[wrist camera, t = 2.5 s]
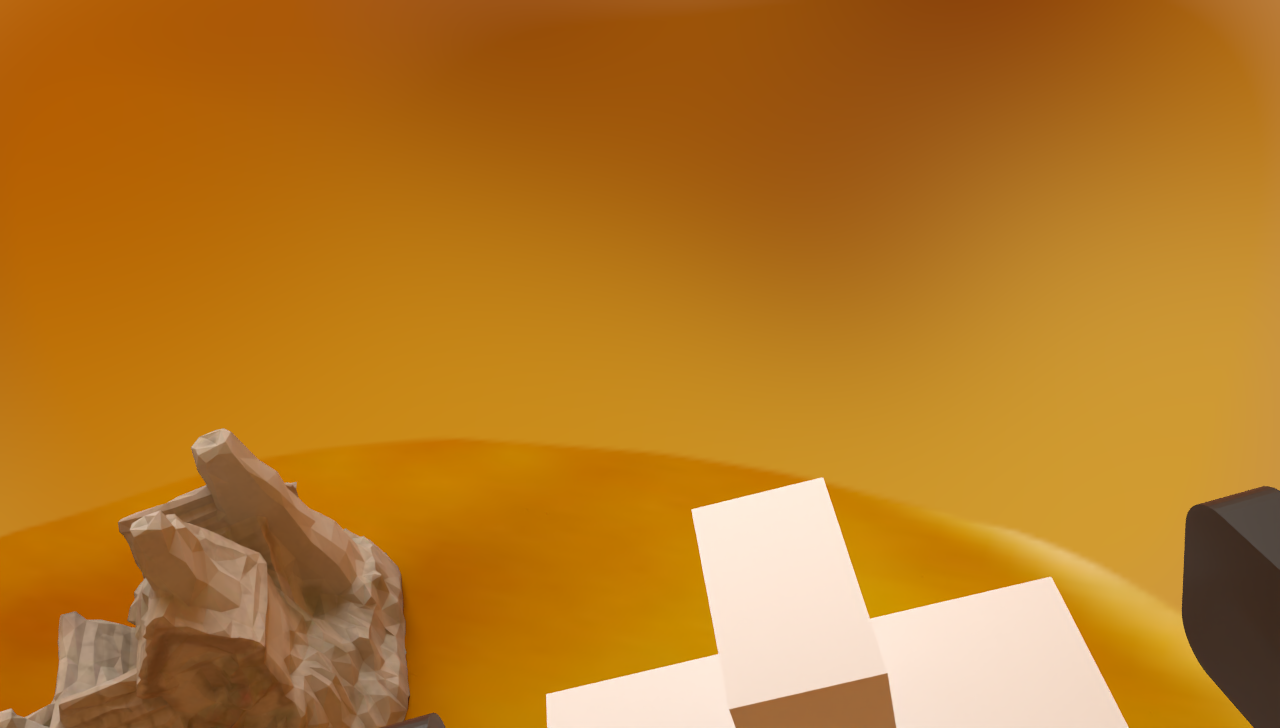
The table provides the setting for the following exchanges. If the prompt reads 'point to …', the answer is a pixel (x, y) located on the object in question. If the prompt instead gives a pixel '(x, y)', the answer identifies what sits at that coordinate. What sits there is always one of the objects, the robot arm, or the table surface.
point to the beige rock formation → (238, 617)
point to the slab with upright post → (848, 644)
